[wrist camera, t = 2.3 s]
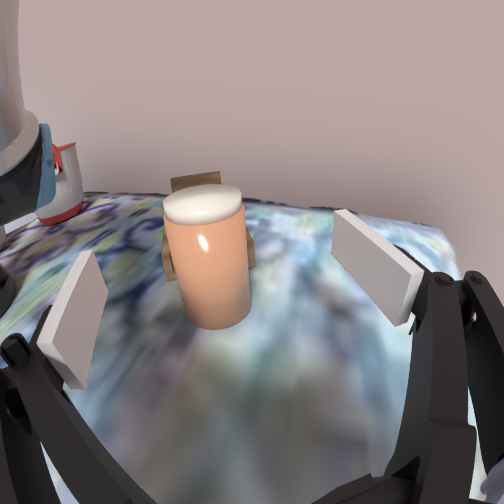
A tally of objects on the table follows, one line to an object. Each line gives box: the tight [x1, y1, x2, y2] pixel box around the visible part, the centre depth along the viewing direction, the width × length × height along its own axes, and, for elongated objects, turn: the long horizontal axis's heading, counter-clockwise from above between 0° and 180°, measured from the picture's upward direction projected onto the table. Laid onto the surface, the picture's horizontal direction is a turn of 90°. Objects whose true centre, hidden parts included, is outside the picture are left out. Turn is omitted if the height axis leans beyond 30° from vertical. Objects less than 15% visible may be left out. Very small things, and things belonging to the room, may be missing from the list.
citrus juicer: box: [35, 143, 83, 226], centre depth 52 cm, size 16×17×20 cm
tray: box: [161, 171, 255, 281], centre depth 42 cm, size 22×11×7 cm, turn 13°
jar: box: [163, 184, 251, 330], centre depth 26 cm, size 7×7×12 cm
